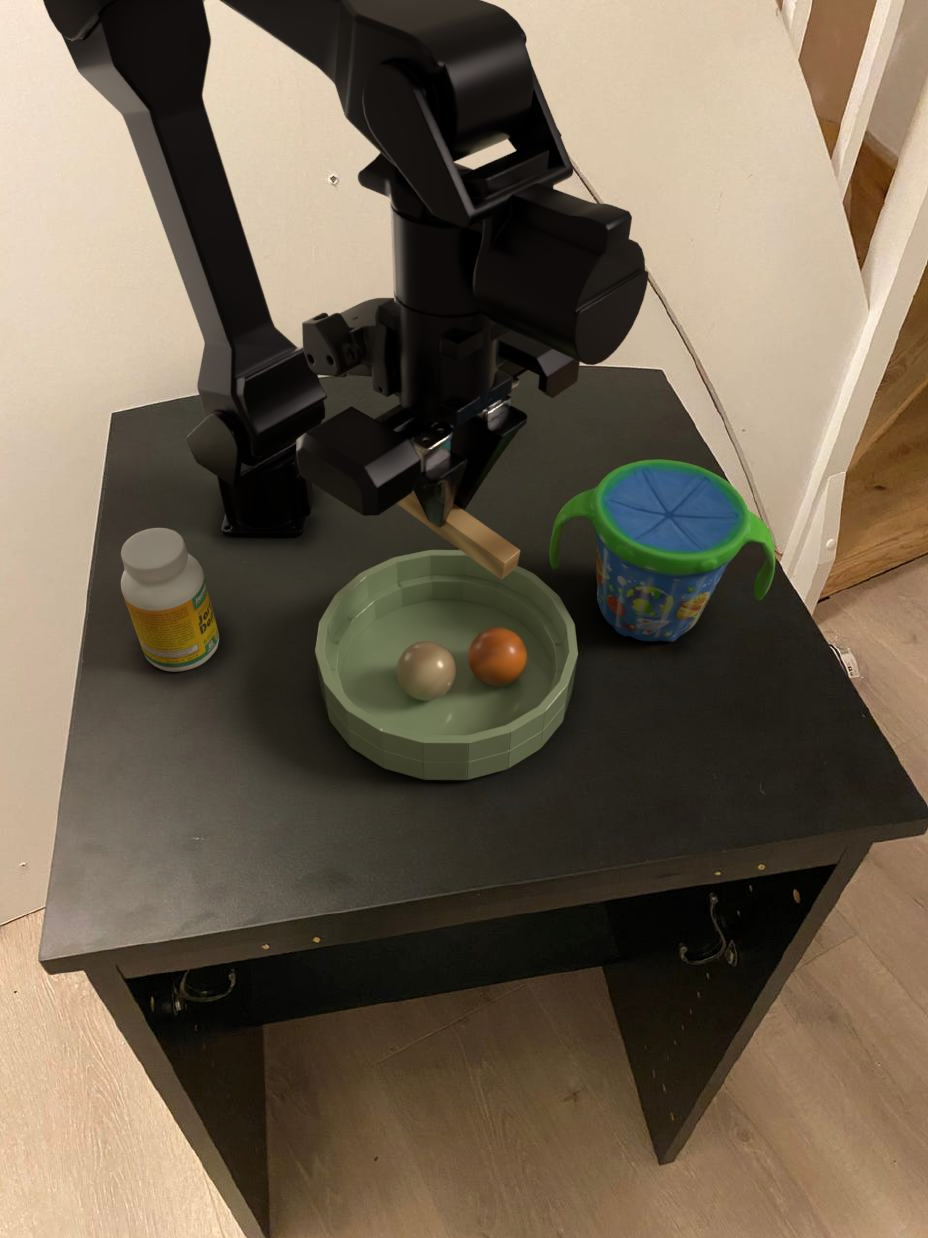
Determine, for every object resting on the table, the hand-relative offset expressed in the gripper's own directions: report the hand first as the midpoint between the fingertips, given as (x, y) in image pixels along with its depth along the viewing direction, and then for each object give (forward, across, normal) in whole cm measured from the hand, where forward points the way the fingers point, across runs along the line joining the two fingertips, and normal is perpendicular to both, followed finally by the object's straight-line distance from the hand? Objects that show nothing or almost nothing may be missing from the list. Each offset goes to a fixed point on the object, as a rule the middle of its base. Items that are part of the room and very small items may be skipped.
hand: (446, 516), depth 61 cm
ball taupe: (+8, +5, +3) cm, 10 cm away
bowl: (+11, +4, +3) cm, 12 cm away
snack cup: (+11, -12, +10) cm, 19 cm away
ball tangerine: (+8, +1, +6) cm, 10 cm away
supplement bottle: (+11, +14, -13) cm, 22 cm away
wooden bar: (+1, 0, 0) cm, 1 cm away
